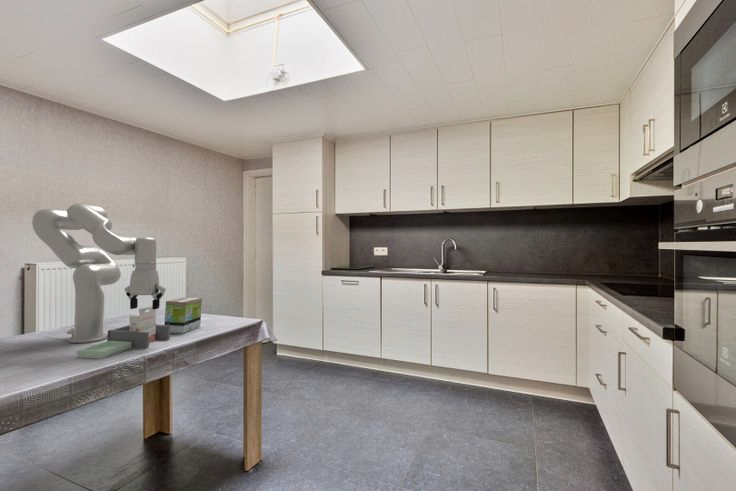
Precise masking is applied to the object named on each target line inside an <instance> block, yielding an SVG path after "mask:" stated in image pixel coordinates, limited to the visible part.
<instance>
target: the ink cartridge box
mask: <svg viewBox="0 0 736 491" xmlns="http://www.w3.org/2000/svg"><path fill="white" fill-rule="evenodd" d="M156 310H157V309H152V306H148V307H143V308H139V309H138V314H134V315H133V314H132V315H129V320H128V321H129V324H128V325H129V331H136V332H149V343H151V342H155V341H156V339H155V331H156V325H157V324H156V323H157V322H156V321H157V313H156V312H157V311H156Z"/></svg>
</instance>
